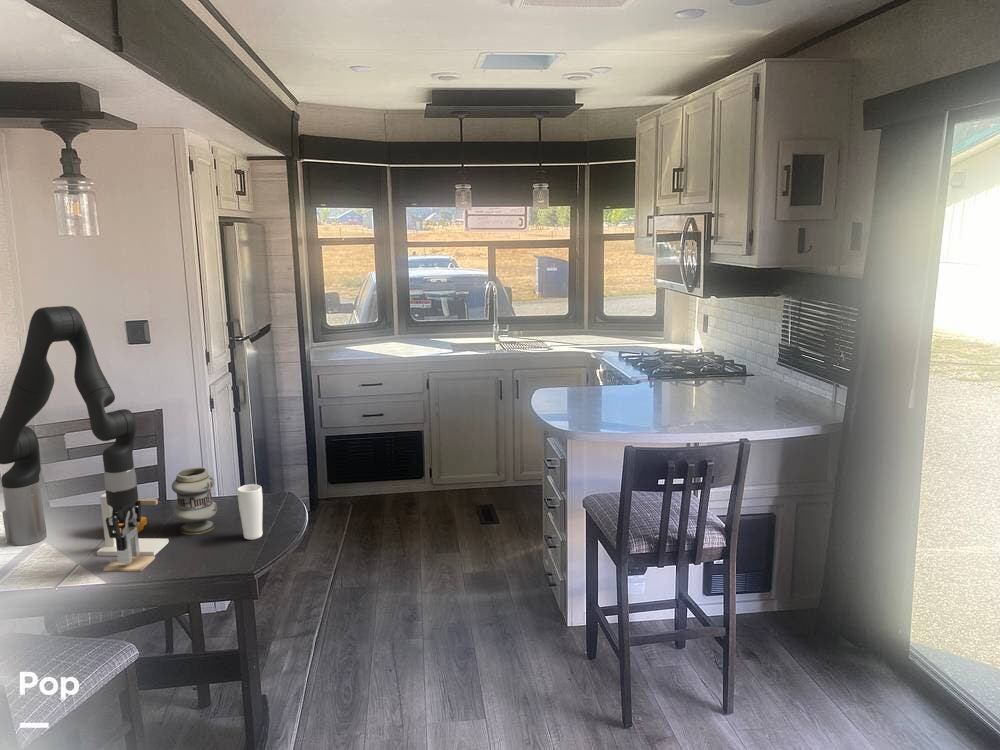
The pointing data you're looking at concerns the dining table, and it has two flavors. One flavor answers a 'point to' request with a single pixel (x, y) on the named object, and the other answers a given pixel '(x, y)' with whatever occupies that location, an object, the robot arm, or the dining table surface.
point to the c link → (129, 546)
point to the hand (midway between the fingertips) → (127, 545)
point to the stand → (145, 544)
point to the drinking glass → (251, 510)
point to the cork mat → (130, 564)
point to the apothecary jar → (194, 500)
